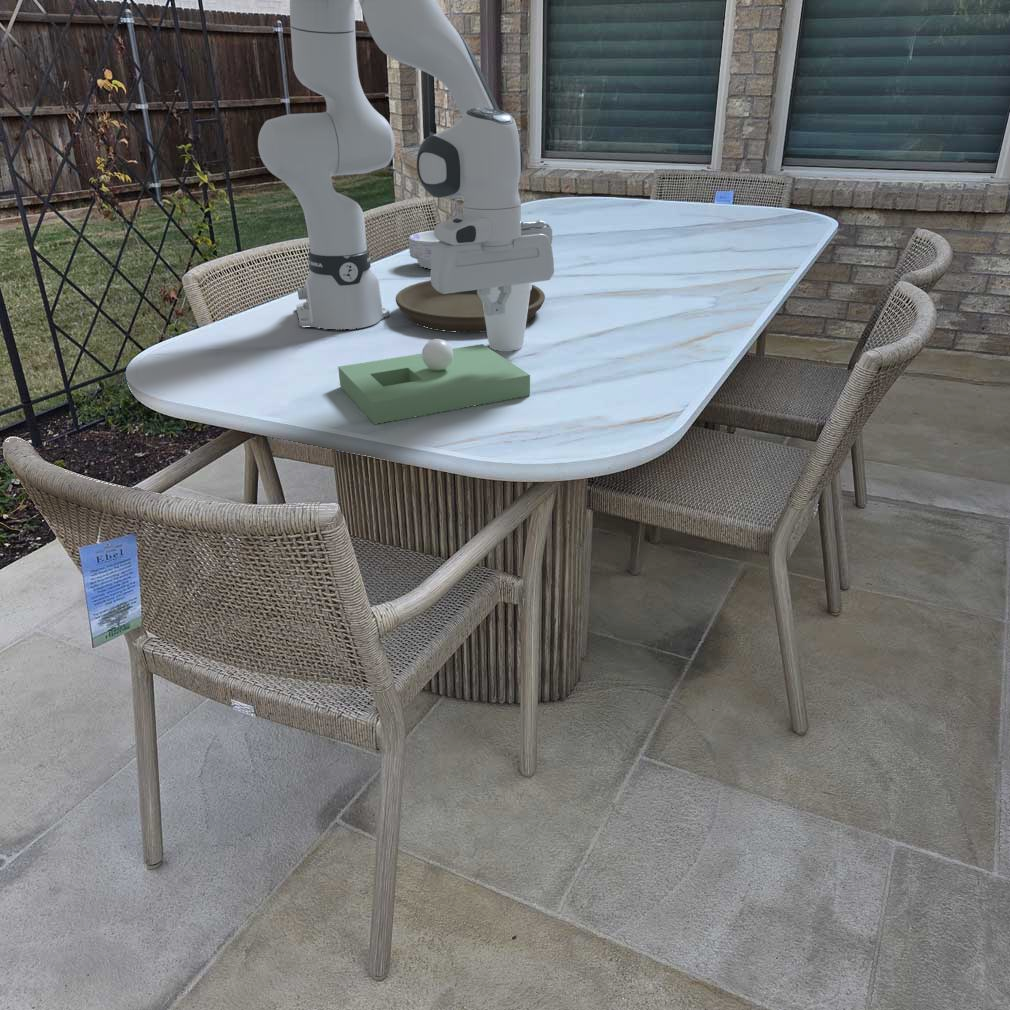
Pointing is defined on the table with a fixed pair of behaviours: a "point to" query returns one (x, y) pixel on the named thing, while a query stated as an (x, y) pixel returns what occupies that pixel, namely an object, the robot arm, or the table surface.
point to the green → (432, 384)
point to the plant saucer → (452, 307)
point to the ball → (437, 354)
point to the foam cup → (509, 319)
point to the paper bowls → (422, 247)
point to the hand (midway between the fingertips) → (494, 314)
